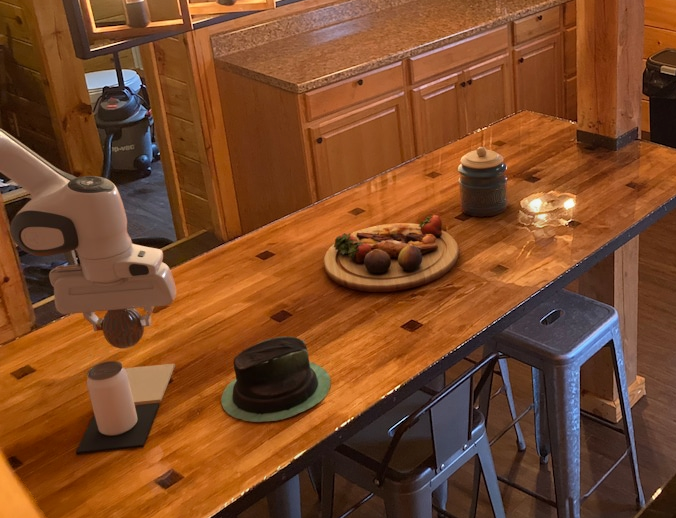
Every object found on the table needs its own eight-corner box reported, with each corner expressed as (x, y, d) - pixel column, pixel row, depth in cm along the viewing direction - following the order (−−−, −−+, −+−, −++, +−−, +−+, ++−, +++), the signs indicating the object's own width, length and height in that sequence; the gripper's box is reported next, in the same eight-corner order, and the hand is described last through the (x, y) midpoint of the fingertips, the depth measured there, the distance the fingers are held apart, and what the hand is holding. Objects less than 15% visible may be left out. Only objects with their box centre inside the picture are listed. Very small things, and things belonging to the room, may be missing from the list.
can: (107, 414, 174) (93, 360, 170) (143, 413, 175) (130, 358, 170) (92, 437, 169) (77, 381, 164) (130, 436, 169) (116, 380, 164)
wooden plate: (427, 220, 250) (424, 191, 247) (481, 270, 226) (480, 239, 223) (306, 251, 234) (302, 221, 231) (351, 308, 210) (347, 275, 206)
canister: (508, 197, 264) (506, 137, 257) (507, 217, 252) (505, 156, 245) (461, 198, 263) (458, 138, 256) (458, 218, 251) (454, 157, 244)
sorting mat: (76, 454, 165) (75, 451, 165) (116, 371, 188) (115, 368, 188) (143, 447, 167) (142, 444, 167) (175, 365, 190) (174, 362, 189)
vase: (155, 337, 181) (146, 298, 177) (124, 356, 175) (115, 316, 171) (129, 329, 183) (120, 290, 180) (98, 347, 177) (88, 307, 174)
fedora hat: (296, 342, 196) (356, 382, 184) (229, 416, 188) (288, 462, 176) (256, 302, 185) (317, 341, 174) (184, 378, 177) (243, 424, 166)
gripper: (40, 275, 168) (58, 341, 173) (163, 265, 171) (176, 331, 177) (52, 258, 173) (69, 323, 179) (171, 249, 177) (184, 313, 182)
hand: (123, 327), depth 178 cm, fingers closed on vase, 7 cm apart
